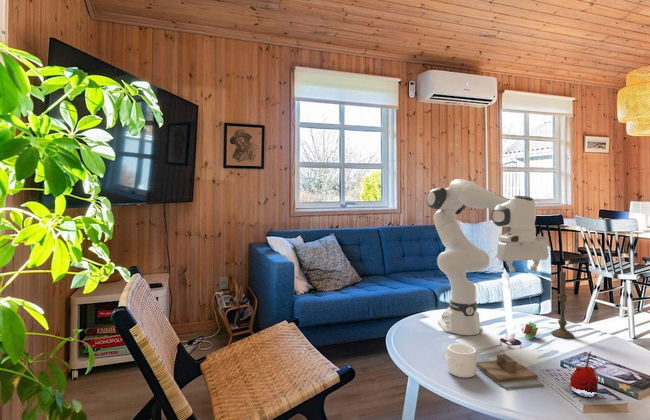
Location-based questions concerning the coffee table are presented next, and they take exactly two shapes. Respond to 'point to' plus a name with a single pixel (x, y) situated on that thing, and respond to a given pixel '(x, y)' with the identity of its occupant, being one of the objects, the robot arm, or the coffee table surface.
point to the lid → (506, 369)
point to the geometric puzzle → (529, 330)
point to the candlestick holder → (562, 311)
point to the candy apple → (585, 378)
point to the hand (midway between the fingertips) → (522, 271)
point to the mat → (515, 383)
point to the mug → (461, 360)
